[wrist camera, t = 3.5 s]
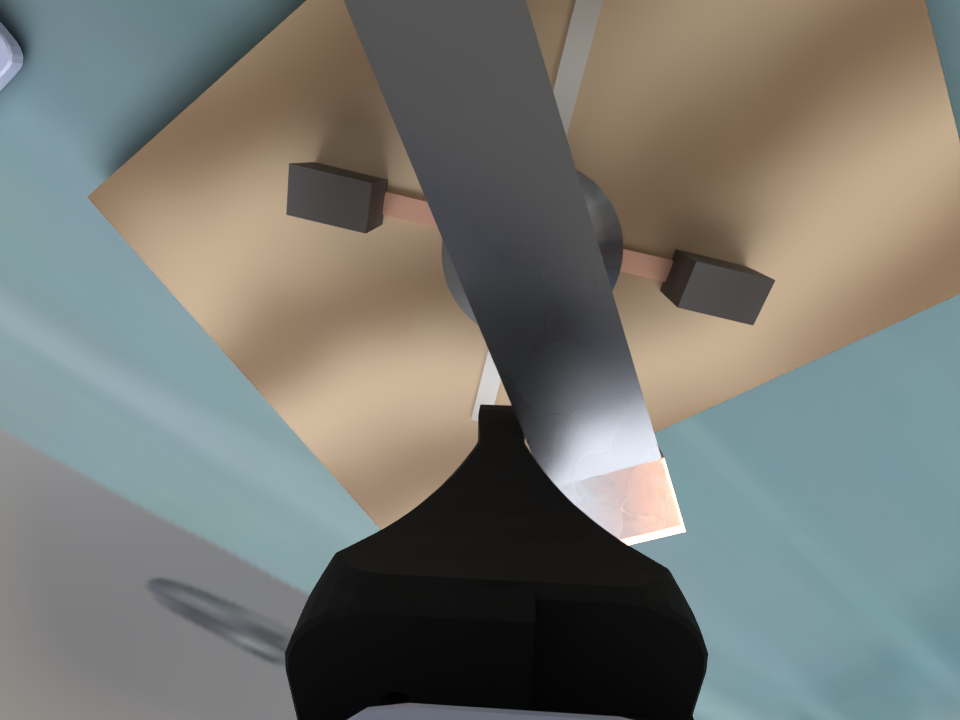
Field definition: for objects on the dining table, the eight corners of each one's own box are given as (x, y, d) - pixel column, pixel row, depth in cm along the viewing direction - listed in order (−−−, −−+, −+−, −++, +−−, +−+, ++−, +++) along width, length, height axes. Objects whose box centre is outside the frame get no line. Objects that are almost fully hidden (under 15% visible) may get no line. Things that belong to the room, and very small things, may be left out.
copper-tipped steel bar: (343, 11, 10) (255, -63, 7) (524, -86, 9) (531, -226, 6) (534, 467, 14) (540, 565, 11) (669, 429, 13) (722, 522, 10)
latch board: (114, 194, 14) (35, 202, 12) (783, -396, 9) (878, -589, 7) (404, 530, 19) (388, 585, 17) (960, 270, 14) (1055, 294, 11)
